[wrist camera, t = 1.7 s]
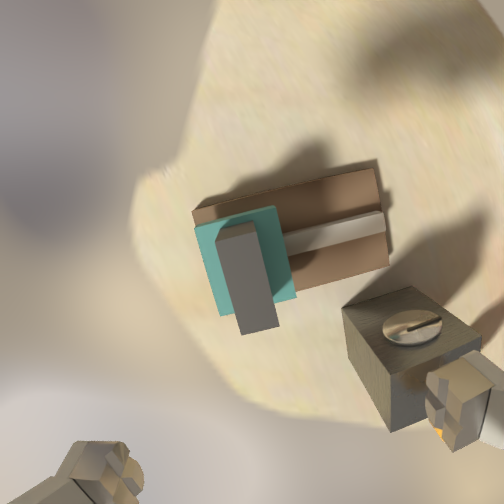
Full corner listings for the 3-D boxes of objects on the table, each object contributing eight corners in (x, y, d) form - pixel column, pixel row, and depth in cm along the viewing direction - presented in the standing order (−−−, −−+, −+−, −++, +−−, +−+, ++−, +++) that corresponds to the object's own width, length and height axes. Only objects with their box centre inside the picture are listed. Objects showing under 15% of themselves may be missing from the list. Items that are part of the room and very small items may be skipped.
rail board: (194, 209, 28) (188, 213, 25) (367, 168, 28) (380, 168, 25) (221, 304, 30) (219, 317, 27) (383, 261, 30) (396, 270, 27)
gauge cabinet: (340, 302, 30) (390, 368, 19) (411, 280, 30) (482, 328, 18) (348, 357, 32) (390, 432, 20) (414, 335, 32) (473, 394, 20)
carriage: (200, 221, 26) (181, 241, 18) (271, 203, 26) (285, 214, 18) (222, 300, 28) (215, 348, 20) (290, 283, 28) (309, 325, 20)
